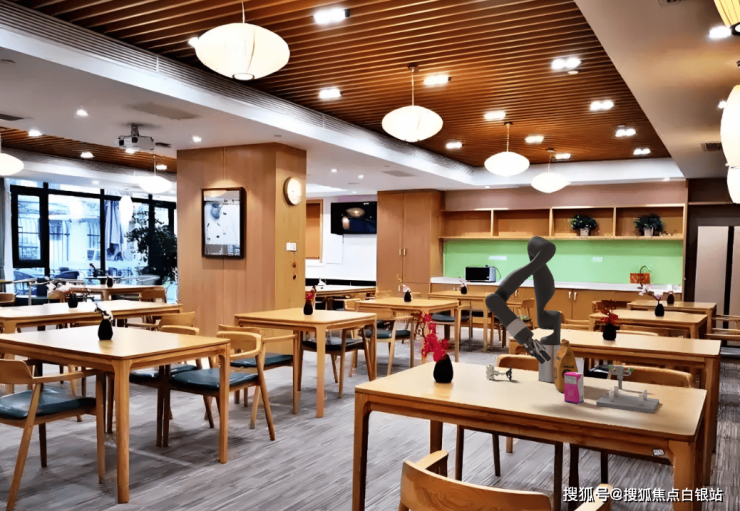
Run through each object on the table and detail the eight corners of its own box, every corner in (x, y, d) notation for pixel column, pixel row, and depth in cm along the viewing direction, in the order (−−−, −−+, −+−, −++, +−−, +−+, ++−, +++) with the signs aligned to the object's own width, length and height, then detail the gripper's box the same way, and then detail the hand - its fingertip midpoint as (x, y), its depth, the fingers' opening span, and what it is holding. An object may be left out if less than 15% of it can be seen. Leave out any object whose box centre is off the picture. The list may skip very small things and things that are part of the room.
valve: (484, 380, 280) (510, 382, 277) (485, 366, 281) (511, 367, 277) (486, 377, 287) (512, 379, 283) (486, 364, 287) (512, 365, 283)
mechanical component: (631, 391, 260) (631, 368, 260) (607, 387, 266) (607, 365, 266) (633, 389, 262) (633, 367, 262) (608, 386, 268) (609, 364, 269)
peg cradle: (596, 405, 231) (596, 391, 232) (606, 396, 248) (606, 383, 248) (652, 413, 221) (652, 398, 221) (659, 402, 238) (659, 389, 238)
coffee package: (555, 392, 254) (556, 341, 254) (553, 387, 266) (553, 338, 267) (579, 394, 252) (580, 342, 252) (576, 388, 264) (576, 338, 264)
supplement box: (570, 399, 242) (570, 371, 242) (584, 401, 238) (584, 373, 238) (563, 401, 238) (563, 372, 238) (577, 404, 234) (577, 375, 234)
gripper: (520, 327, 243) (548, 357, 237) (531, 324, 255) (558, 353, 249) (508, 339, 246) (535, 369, 239) (519, 335, 258) (545, 364, 251)
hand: (546, 361), depth 244 cm, fingers open, 8 cm apart
